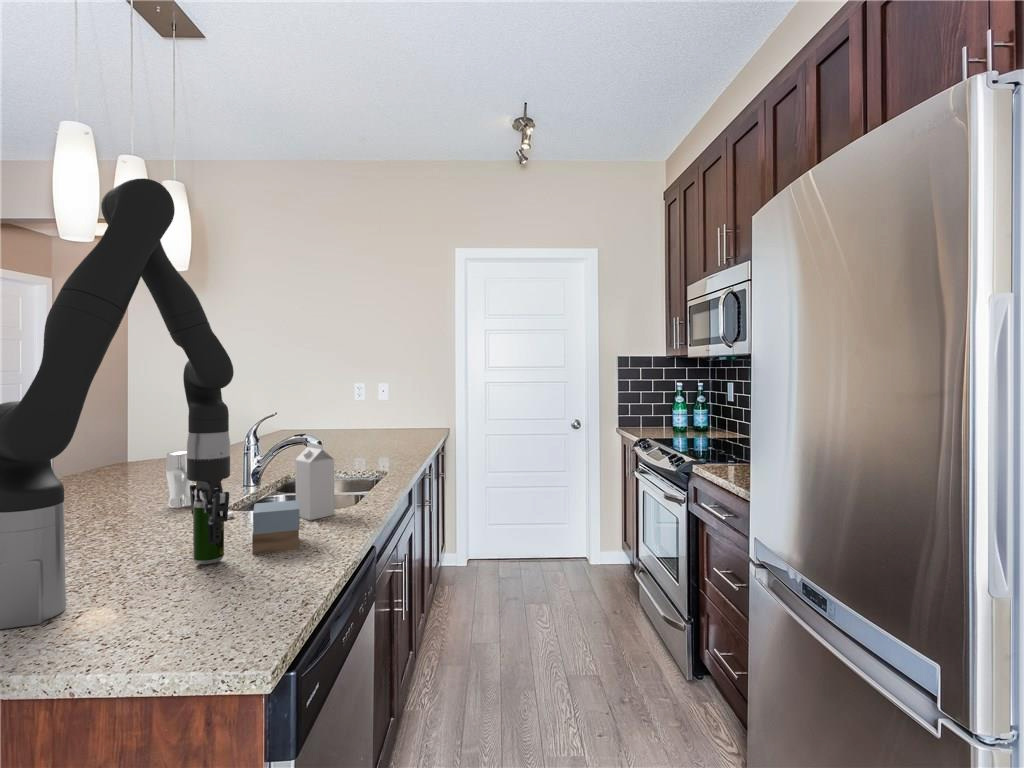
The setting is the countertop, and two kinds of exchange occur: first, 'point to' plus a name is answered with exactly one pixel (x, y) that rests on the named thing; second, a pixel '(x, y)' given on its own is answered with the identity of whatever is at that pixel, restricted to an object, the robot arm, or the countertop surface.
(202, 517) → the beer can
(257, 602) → the countertop surface
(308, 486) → the milk carton
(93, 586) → the countertop surface
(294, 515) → the slate-blue block
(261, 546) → the walnut block
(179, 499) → the beer glass
